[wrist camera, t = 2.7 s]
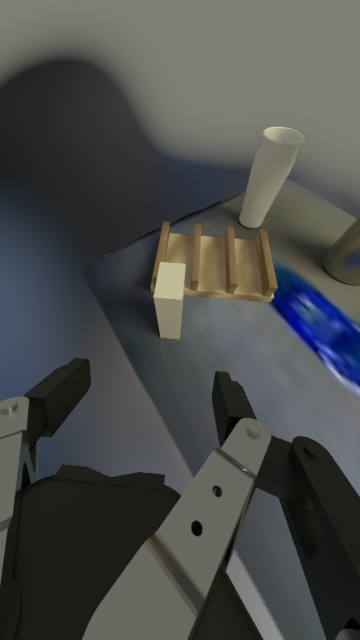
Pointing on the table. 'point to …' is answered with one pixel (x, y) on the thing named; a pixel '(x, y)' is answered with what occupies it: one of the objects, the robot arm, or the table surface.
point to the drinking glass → (269, 172)
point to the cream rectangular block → (169, 298)
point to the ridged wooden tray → (220, 264)
